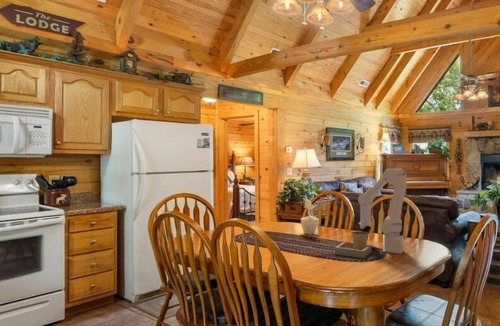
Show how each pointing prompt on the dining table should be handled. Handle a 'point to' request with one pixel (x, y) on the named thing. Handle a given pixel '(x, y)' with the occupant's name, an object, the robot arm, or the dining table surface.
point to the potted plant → (309, 219)
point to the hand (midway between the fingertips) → (365, 239)
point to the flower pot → (359, 239)
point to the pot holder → (352, 251)
